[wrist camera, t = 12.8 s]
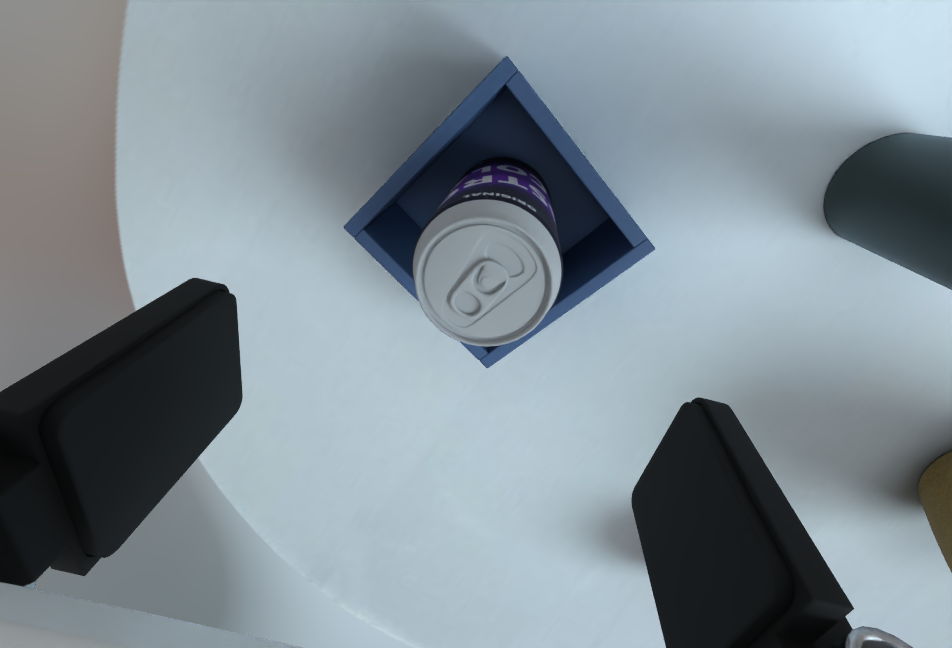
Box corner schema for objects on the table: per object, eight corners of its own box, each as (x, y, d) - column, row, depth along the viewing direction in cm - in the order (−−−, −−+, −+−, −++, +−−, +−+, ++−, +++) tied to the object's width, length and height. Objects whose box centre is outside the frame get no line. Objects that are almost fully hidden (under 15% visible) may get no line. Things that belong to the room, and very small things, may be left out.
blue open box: (382, 198, 27) (342, 227, 21) (512, 63, 23) (506, 55, 17) (495, 315, 30) (487, 369, 24) (627, 213, 26) (656, 249, 20)
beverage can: (571, 199, 25) (601, 278, 15) (507, 270, 28) (494, 381, 17) (494, 132, 24) (468, 166, 14) (434, 212, 27) (373, 294, 16)
